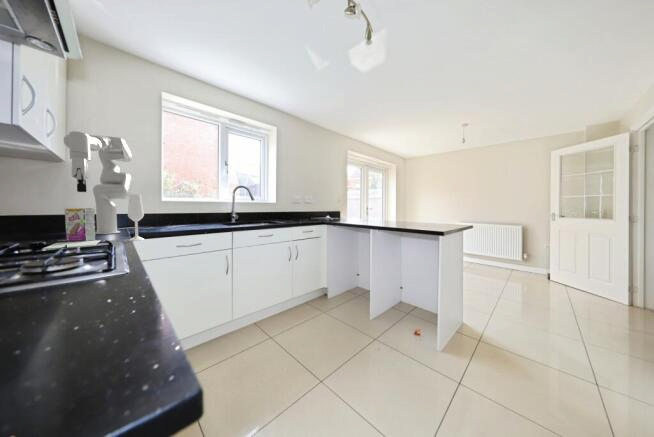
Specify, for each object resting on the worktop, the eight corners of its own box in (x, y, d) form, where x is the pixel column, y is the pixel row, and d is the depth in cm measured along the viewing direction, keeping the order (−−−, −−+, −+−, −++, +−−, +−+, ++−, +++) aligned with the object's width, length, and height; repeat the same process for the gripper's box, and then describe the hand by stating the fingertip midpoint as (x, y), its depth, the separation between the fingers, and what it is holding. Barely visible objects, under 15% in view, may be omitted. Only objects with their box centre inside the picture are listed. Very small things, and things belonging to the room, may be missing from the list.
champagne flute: (126, 240, 120) (124, 194, 118) (131, 239, 126) (129, 194, 125) (142, 240, 122) (140, 194, 121) (146, 238, 128) (145, 195, 127)
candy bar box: (65, 241, 115) (63, 208, 115) (76, 240, 120) (75, 208, 120) (85, 241, 114) (83, 207, 113) (96, 240, 119) (95, 208, 118)
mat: (56, 243, 109) (56, 242, 109) (100, 240, 119) (100, 240, 119) (42, 249, 95) (42, 248, 95) (94, 245, 104) (94, 244, 104)
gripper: (73, 158, 125) (75, 192, 126) (65, 152, 113) (67, 190, 114) (93, 159, 129) (94, 193, 130) (87, 155, 118) (89, 191, 118)
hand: (81, 191), depth 122 cm, fingers closed
